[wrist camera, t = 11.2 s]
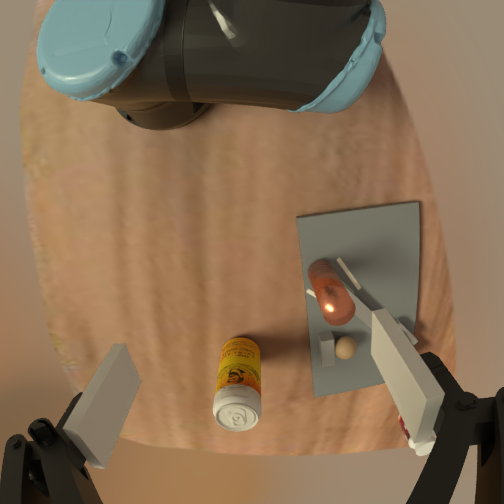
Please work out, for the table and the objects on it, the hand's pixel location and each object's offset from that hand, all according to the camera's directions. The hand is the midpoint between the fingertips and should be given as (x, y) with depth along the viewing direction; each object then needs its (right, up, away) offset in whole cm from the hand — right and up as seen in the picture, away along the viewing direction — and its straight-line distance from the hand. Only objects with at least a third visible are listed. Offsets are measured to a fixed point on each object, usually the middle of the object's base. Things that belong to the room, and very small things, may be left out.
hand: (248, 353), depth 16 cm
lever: (+18, -5, +30) cm, 36 cm away
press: (+18, -4, +31) cm, 36 cm away
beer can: (-2, -10, +34) cm, 36 cm away
